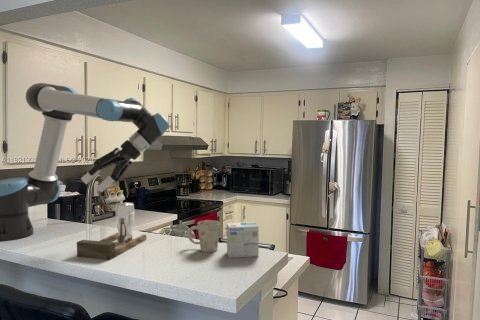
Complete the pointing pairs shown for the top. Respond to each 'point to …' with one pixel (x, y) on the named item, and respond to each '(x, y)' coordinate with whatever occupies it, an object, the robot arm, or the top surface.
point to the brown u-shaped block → (105, 247)
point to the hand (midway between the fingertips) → (91, 186)
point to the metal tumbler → (125, 222)
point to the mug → (206, 235)
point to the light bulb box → (242, 239)
